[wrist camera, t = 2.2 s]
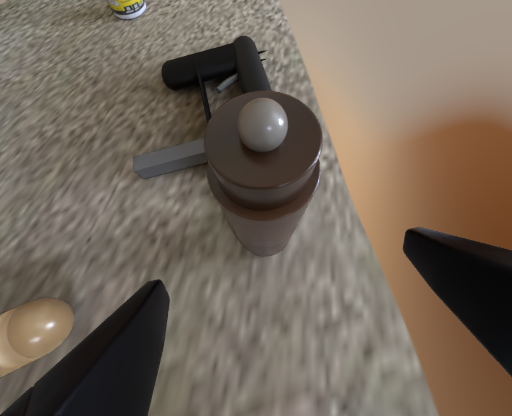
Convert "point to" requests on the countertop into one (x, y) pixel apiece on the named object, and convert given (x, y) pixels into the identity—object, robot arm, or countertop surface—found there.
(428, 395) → the countertop surface
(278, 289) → the countertop surface
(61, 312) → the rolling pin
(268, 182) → the pepper mill
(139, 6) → the supplement bottle
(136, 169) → the door handle
